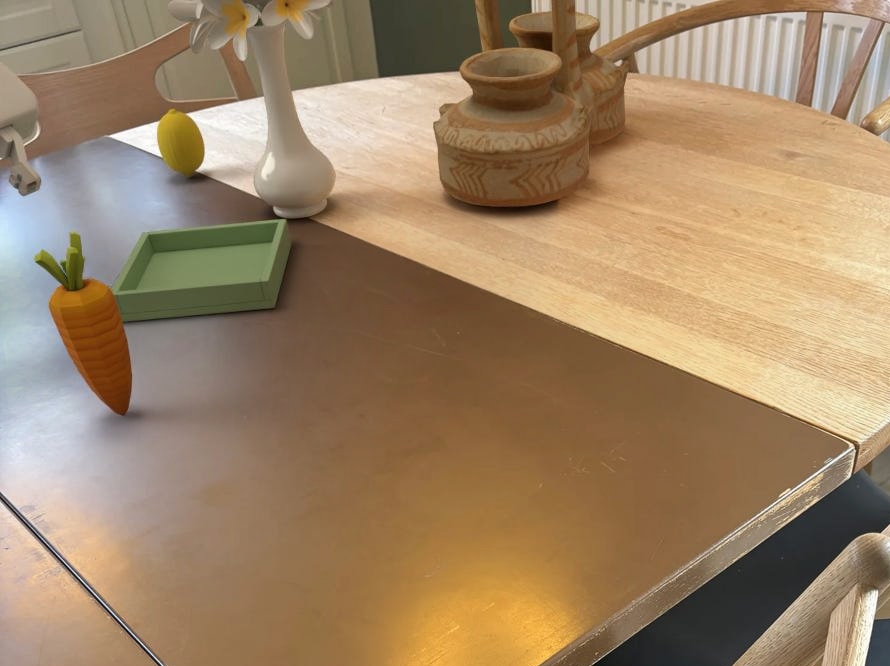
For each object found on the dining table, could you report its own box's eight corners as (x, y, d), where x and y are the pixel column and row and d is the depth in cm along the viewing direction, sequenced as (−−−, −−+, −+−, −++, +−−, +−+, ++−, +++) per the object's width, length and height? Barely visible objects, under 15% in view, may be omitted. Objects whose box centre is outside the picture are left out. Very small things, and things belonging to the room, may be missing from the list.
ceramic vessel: (580, 220, 108) (576, -59, 91) (419, 214, 113) (387, -51, 96) (641, 118, 132) (647, -121, 114) (505, 116, 137) (491, -112, 119)
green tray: (117, 322, 99) (107, 295, 97) (150, 257, 111) (142, 232, 109) (274, 308, 99) (268, 280, 97) (291, 244, 110) (286, 218, 108)
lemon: (177, 170, 131) (158, 103, 126) (217, 168, 131) (200, 101, 125) (161, 186, 128) (142, 117, 122) (203, 184, 127) (185, 115, 121)
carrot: (97, 436, 84) (27, 258, 73) (89, 410, 87) (21, 235, 77) (157, 420, 85) (96, 241, 74) (147, 394, 88) (87, 220, 78)
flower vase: (253, 186, 125) (197, -57, 108) (389, 193, 119) (353, -62, 102) (196, 227, 116) (127, -30, 99) (340, 237, 110) (292, -34, 93)
